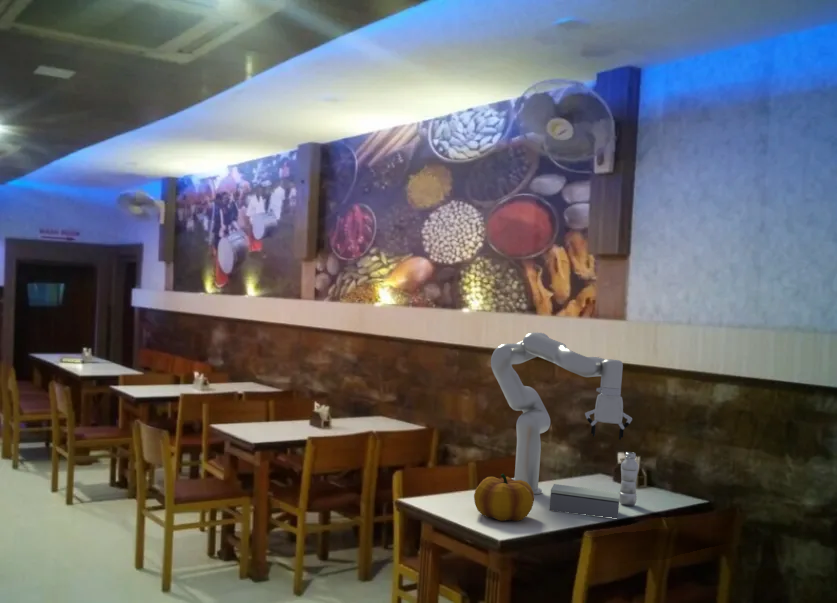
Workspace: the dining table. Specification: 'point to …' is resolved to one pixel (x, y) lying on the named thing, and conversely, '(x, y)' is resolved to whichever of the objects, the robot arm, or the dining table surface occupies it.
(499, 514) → the decorative pumpkin
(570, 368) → the robot arm
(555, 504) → the grey rectangular box
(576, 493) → the cover
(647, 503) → the dining table surface
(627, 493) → the plastic bottle
